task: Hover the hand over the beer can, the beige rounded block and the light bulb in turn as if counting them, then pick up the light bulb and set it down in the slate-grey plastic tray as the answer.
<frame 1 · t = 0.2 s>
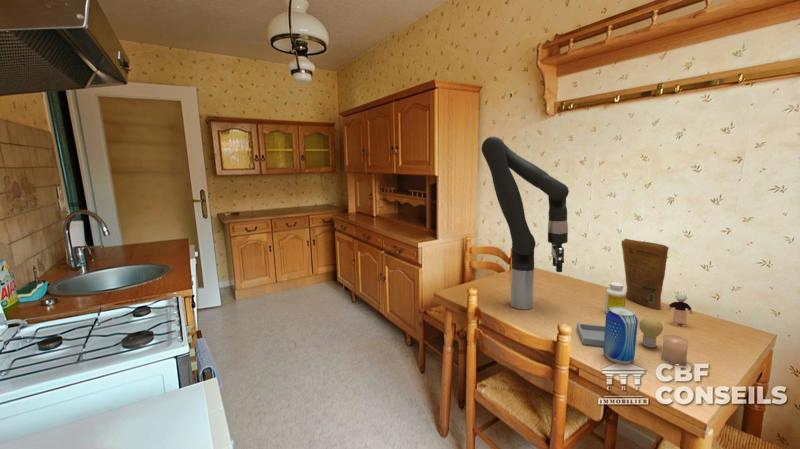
hand: (557, 268, 145), 18 cm above the table, tool pointing down, fingers open, 8 cm apart
pancake mix bag: (640, 303, 151), on the table
light bulb: (648, 346, 117), on the table
beer can: (618, 358, 110), on the table
supplement bottle: (614, 314, 141), on the table
grandmother figurine: (677, 325, 131), on the table
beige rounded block: (673, 359, 108), on the table
tray: (598, 338, 122), on the table
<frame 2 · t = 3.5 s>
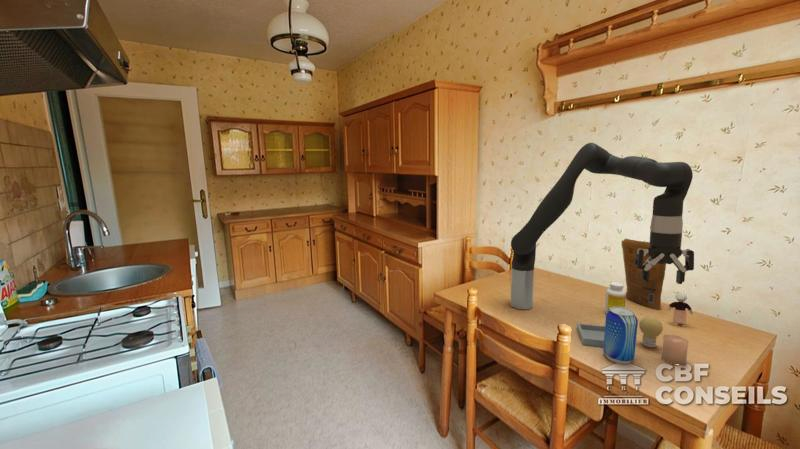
hand: (662, 282, 105), 25 cm above the table, tool pointing down, fingers open, 8 cm apart
nothing on the table moved.
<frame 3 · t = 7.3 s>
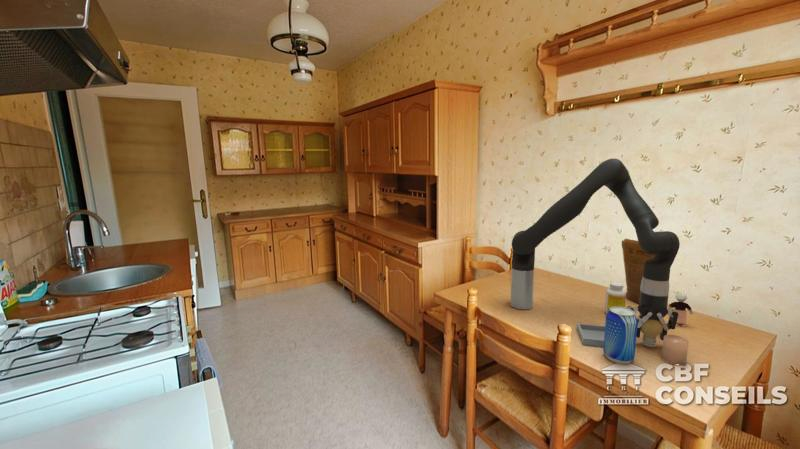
hand: (649, 337, 116), 3 cm above the table, tool pointing down, fingers closed on light bulb, 6 cm apart
light bulb: (648, 346, 117), on the table, touching gripper
everything else where it was.
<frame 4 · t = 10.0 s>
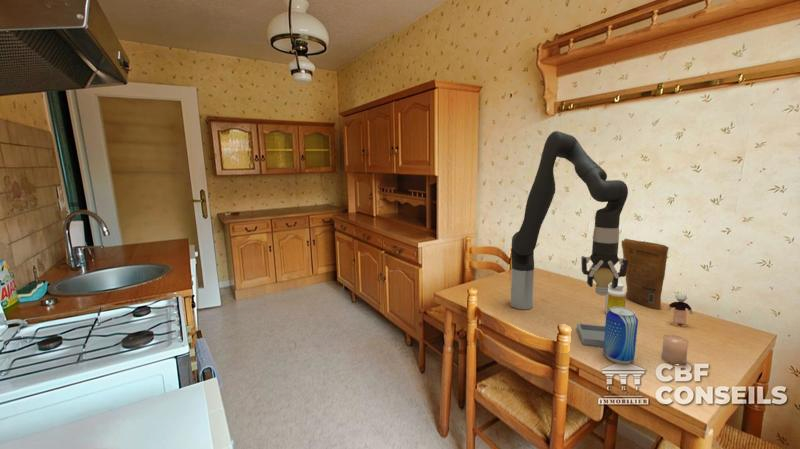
hand: (602, 286, 119), 19 cm above the table, tool pointing down, fingers closed on light bulb, 6 cm apart
light bulb: (601, 294, 119), point 16 cm above the table, touching gripper
everything else where it was.
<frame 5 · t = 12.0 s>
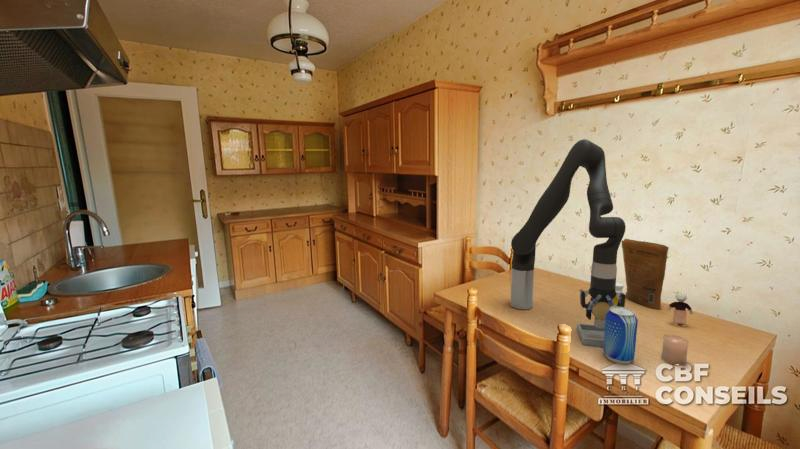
hand: (600, 319, 121), 7 cm above the table, tool pointing down, fingers closed on light bulb, 6 cm apart
light bulb: (599, 327, 122), point 4 cm above the table, touching gripper
everything else where it was.
when the fingers open (5 cm above the table, at t = 13.2 s): light bulb drops 1 cm, resting on tray.
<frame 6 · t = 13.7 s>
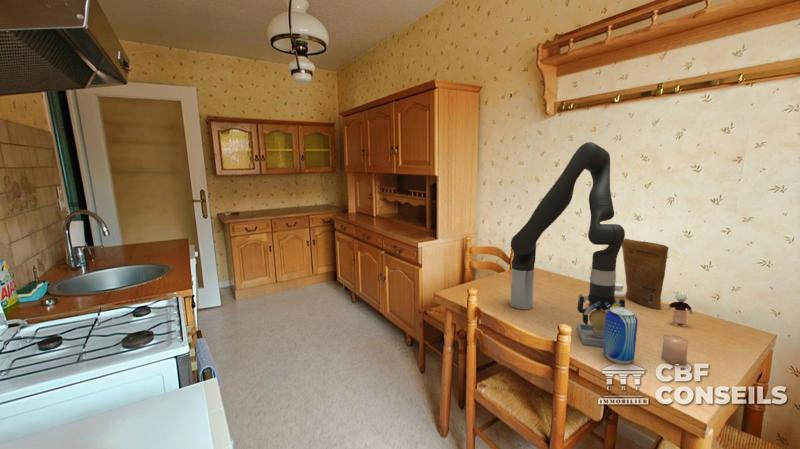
hand: (599, 325, 121), 5 cm above the table, tool pointing down, fingers open, 8 cm apart
light bulb: (598, 337, 122), resting on tray
everything else where it was.
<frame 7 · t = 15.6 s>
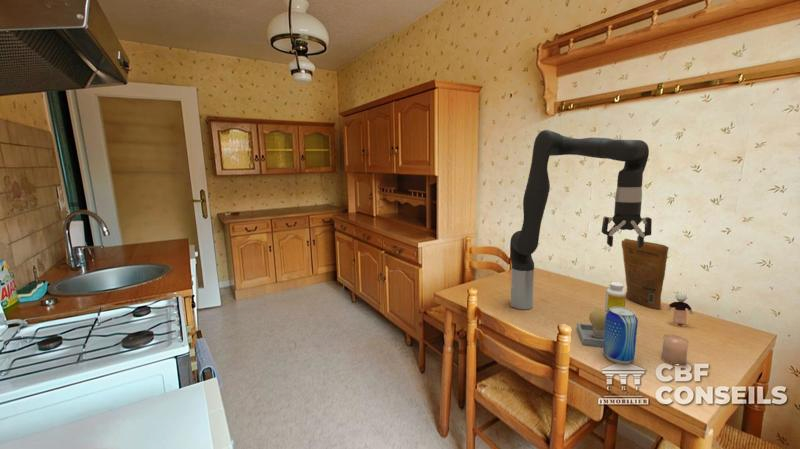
hand: (624, 246, 119), 33 cm above the table, tool pointing down, fingers open, 8 cm apart
nothing on the table moved.
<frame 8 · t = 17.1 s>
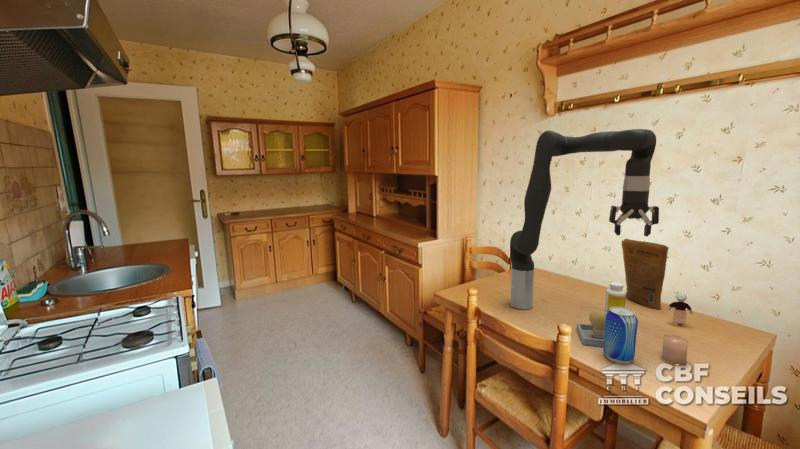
hand: (631, 235, 121), 36 cm above the table, tool pointing down, fingers open, 8 cm apart
nothing on the table moved.
at the end: light bulb inside the target area on the tray (0.1 cm from its centre), point 0.4 cm above the tray's base; the gripper is holding nothing; beer can moved 0.2 cm from its start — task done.
